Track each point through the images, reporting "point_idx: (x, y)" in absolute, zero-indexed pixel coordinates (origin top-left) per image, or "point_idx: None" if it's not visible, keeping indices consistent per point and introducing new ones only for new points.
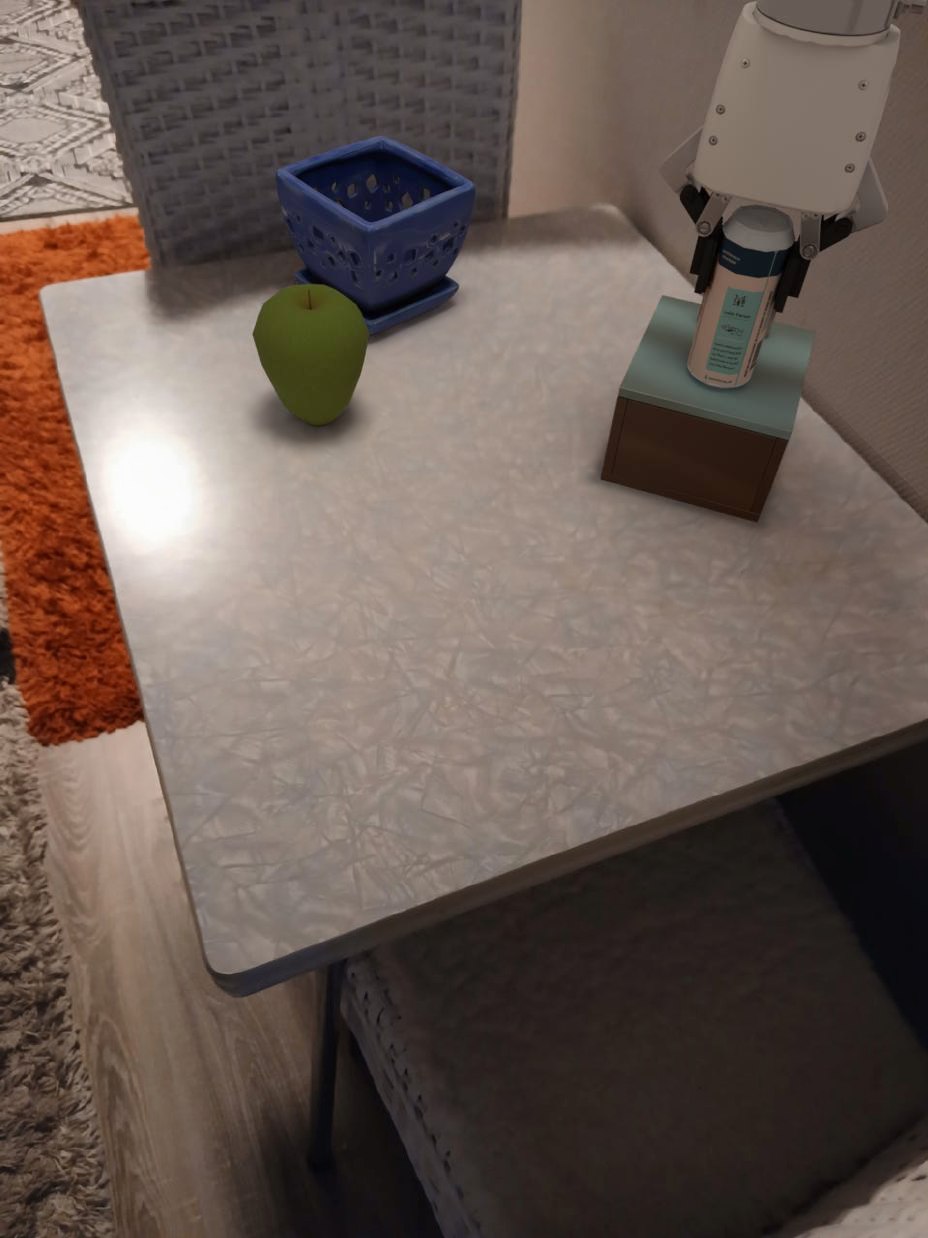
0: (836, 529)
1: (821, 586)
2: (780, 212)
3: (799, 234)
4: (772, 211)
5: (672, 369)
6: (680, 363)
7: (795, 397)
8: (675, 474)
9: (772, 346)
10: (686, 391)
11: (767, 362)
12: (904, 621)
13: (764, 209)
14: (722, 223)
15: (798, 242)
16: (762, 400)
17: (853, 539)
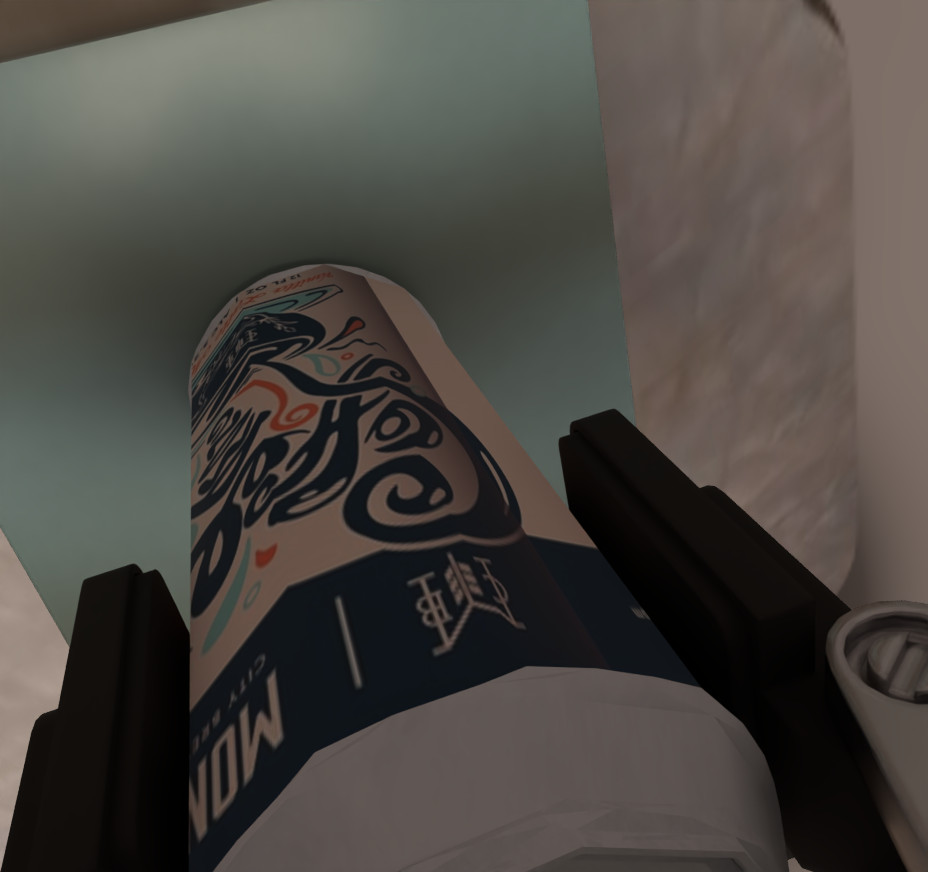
0: (682, 246)
1: (685, 433)
2: (646, 831)
3: (801, 741)
4: (566, 862)
5: (164, 468)
6: (164, 414)
7: (608, 312)
8: None
9: (419, 9)
10: None
11: (447, 157)
12: (833, 411)
13: (472, 864)
14: (108, 865)
15: (818, 861)
16: (518, 407)
17: (721, 253)
